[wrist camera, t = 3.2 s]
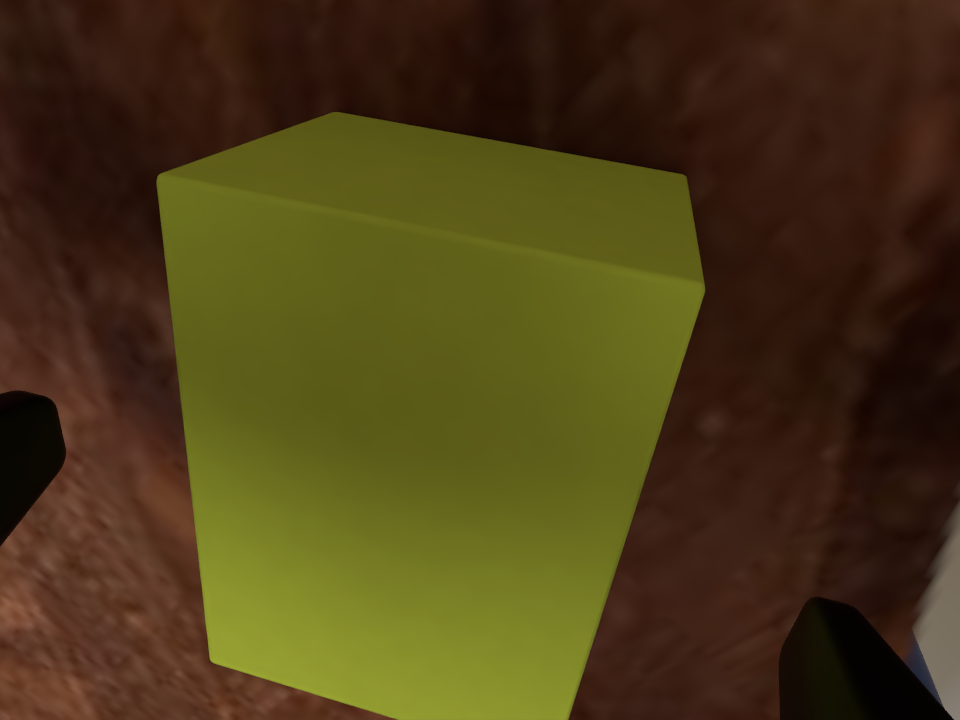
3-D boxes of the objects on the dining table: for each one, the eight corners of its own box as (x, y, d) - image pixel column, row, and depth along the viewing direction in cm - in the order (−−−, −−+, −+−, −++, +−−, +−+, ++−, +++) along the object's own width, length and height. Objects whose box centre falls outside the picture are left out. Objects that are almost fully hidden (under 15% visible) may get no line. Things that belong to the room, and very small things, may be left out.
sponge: (688, 174, 9) (708, 284, 5) (582, 555, 12) (553, 770, 9) (332, 109, 10) (152, 172, 6) (326, 488, 13) (207, 663, 10)
